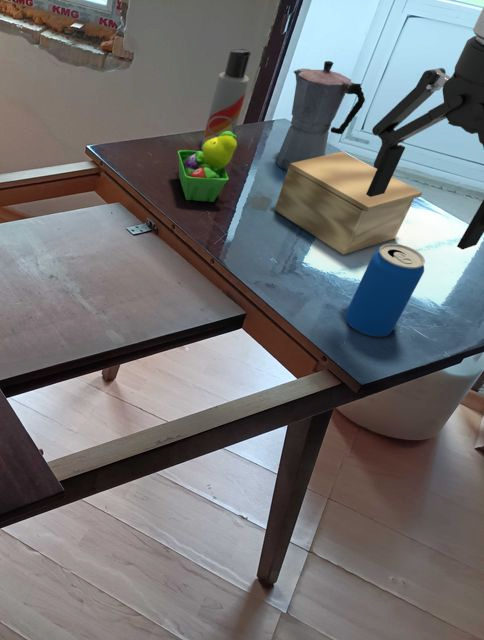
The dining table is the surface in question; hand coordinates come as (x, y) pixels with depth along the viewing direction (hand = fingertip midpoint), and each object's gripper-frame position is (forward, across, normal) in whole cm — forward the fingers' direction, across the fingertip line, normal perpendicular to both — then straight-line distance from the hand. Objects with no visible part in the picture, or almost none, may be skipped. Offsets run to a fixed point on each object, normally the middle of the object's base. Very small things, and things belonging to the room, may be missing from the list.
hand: (418, 218), depth 87 cm
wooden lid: (+9, -21, +17) cm, 29 cm away
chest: (+18, -22, +17) cm, 33 cm away
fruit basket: (+18, -42, +4) cm, 45 cm away
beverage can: (+18, 0, 0) cm, 18 cm away
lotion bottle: (+18, -54, +18) cm, 59 cm away
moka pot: (+18, -42, +30) cm, 54 cm away
